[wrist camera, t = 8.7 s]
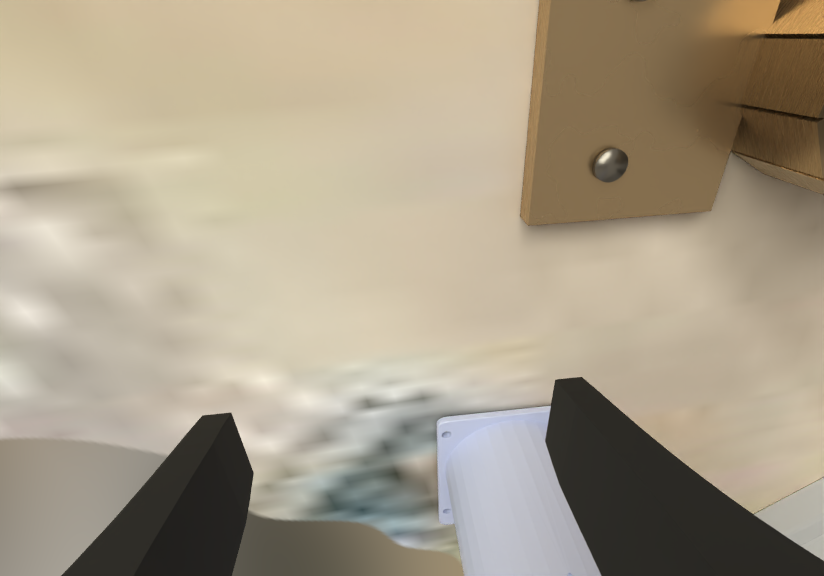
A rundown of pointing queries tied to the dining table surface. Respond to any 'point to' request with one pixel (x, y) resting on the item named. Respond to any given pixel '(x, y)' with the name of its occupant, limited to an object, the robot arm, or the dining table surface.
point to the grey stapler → (800, 517)
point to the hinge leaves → (669, 103)
